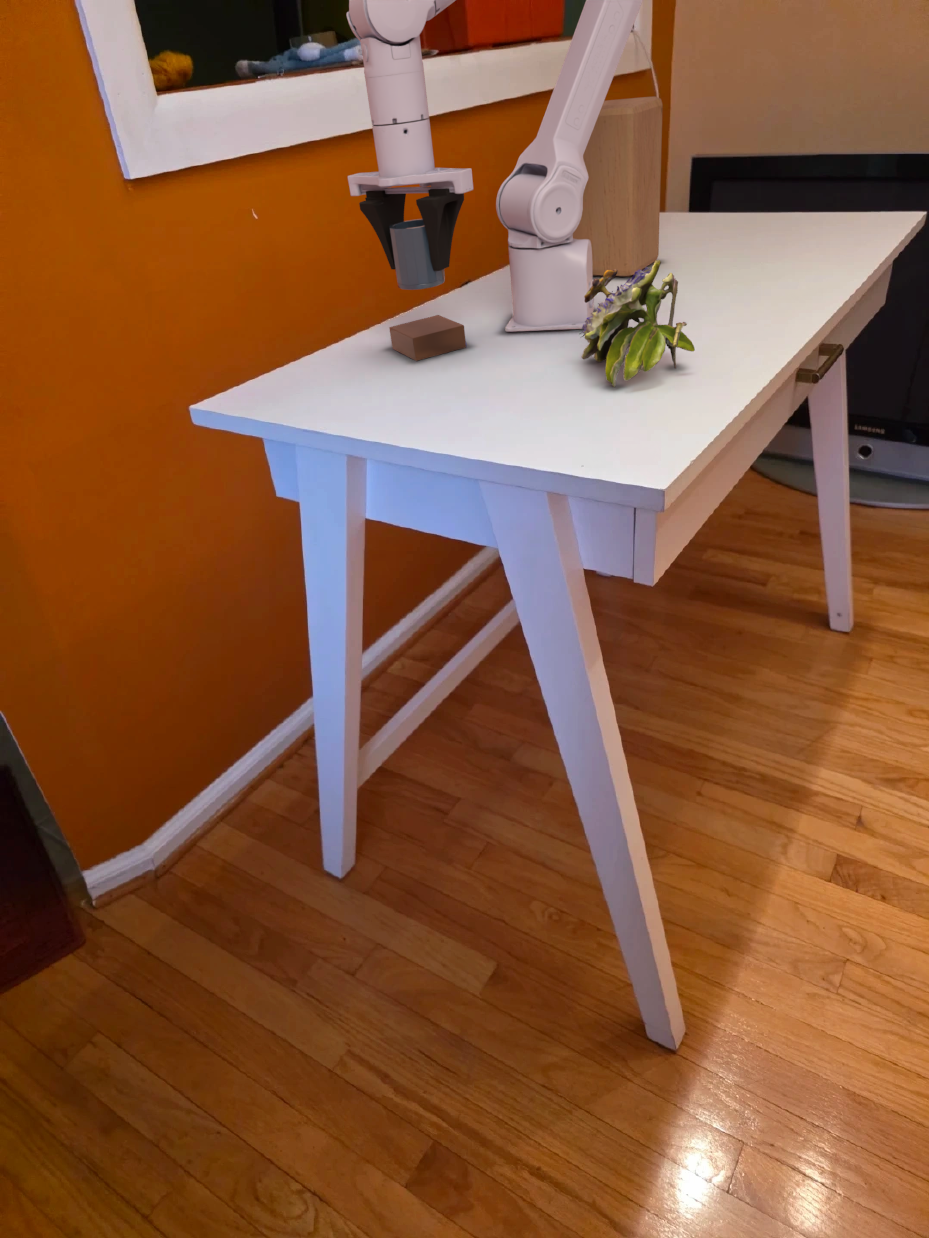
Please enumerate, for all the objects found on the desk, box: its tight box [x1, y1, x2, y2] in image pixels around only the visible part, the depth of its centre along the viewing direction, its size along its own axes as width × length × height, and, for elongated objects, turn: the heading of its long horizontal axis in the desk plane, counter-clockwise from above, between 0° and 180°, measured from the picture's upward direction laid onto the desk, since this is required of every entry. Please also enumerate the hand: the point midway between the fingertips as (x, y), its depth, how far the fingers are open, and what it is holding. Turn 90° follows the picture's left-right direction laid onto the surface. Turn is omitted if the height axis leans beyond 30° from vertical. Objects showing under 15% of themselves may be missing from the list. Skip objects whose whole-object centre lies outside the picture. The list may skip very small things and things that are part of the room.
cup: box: [389, 218, 446, 291], centre depth 87 cm, size 5×5×6 cm
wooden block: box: [573, 95, 663, 278], centre depth 109 cm, size 10×10×20 cm
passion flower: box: [579, 259, 696, 388], centre depth 79 cm, size 11×11×12 cm
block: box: [388, 314, 467, 362], centre depth 93 cm, size 6×6×2 cm
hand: (419, 268), depth 88 cm, fingers closed on cup, 5 cm apart
